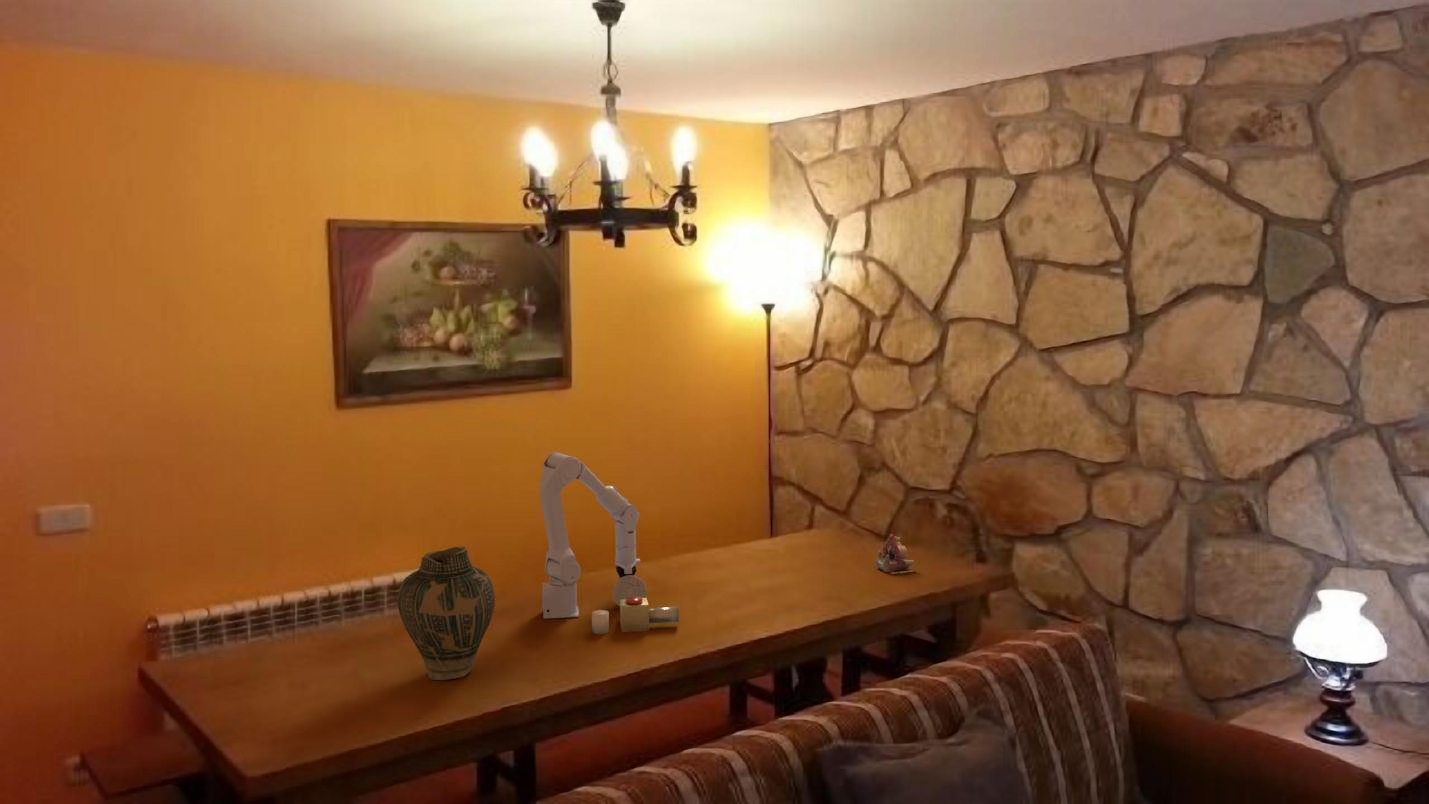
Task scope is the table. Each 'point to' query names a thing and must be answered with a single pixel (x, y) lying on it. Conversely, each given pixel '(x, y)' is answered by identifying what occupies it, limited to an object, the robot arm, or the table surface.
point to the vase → (447, 611)
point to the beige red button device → (643, 614)
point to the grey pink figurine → (893, 557)
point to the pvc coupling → (600, 621)
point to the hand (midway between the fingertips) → (626, 591)
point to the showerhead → (629, 588)
